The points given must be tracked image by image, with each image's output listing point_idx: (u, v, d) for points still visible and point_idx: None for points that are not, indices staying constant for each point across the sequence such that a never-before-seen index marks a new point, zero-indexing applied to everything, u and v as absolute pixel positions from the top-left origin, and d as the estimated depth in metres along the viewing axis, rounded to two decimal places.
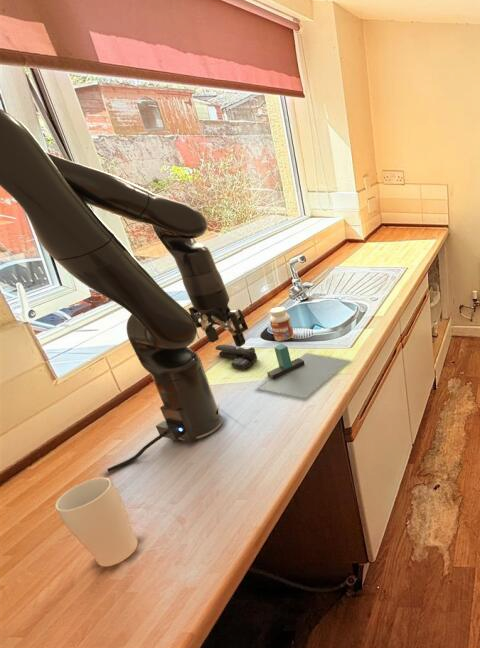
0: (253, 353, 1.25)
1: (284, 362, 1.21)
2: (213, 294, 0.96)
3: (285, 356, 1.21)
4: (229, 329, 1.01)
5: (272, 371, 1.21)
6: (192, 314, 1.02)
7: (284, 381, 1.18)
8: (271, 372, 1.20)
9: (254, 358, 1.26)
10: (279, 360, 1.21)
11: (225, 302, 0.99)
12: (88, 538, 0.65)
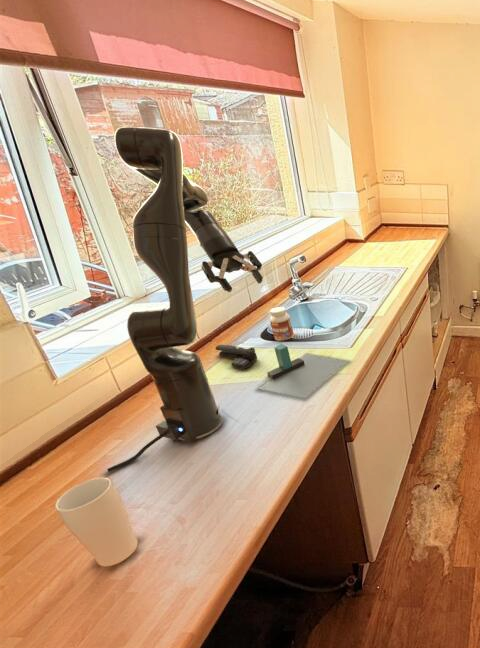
0: (253, 353, 1.25)
1: (284, 362, 1.21)
2: (230, 239, 1.21)
3: (285, 356, 1.21)
4: (250, 265, 1.21)
5: (272, 371, 1.21)
6: (207, 266, 1.14)
7: (284, 381, 1.18)
8: (271, 372, 1.20)
9: (254, 358, 1.26)
10: (279, 360, 1.21)
11: None
12: (88, 538, 0.65)
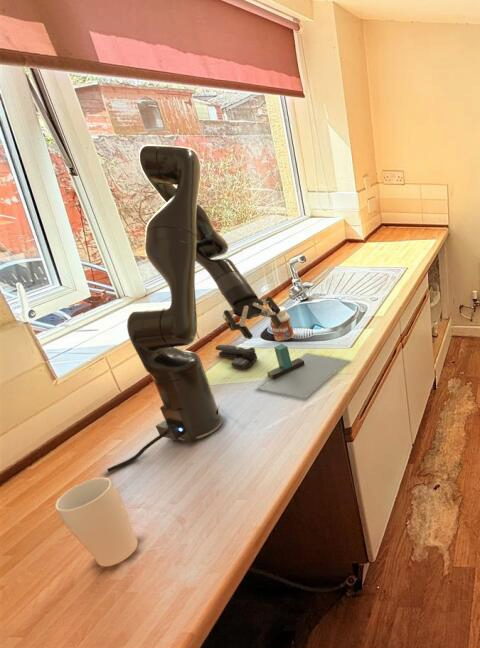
0: (253, 353, 1.25)
1: (284, 362, 1.21)
2: (250, 286, 1.25)
3: (285, 356, 1.21)
4: (269, 311, 1.25)
5: (272, 371, 1.21)
6: (228, 315, 1.17)
7: (284, 381, 1.18)
8: (271, 372, 1.20)
9: (254, 358, 1.26)
10: (279, 360, 1.21)
11: None
12: (88, 538, 0.65)
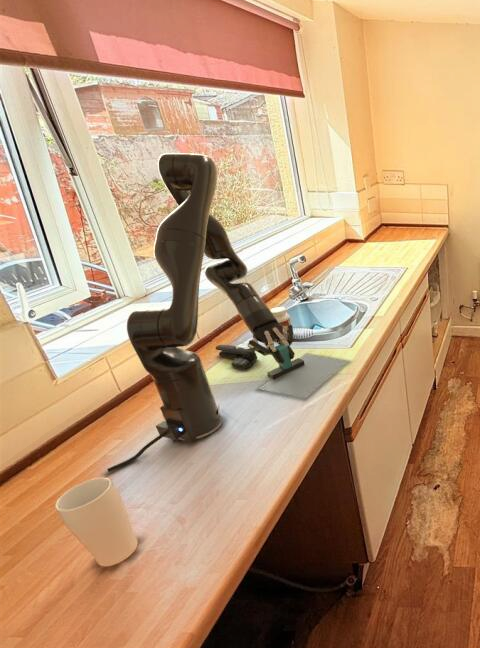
0: (253, 353, 1.25)
1: (284, 362, 1.21)
2: None
3: (285, 356, 1.21)
4: (284, 341, 1.22)
5: (273, 371, 1.21)
6: (255, 344, 1.17)
7: (284, 381, 1.18)
8: (271, 372, 1.20)
9: (254, 358, 1.26)
10: None
11: None
12: (88, 538, 0.65)
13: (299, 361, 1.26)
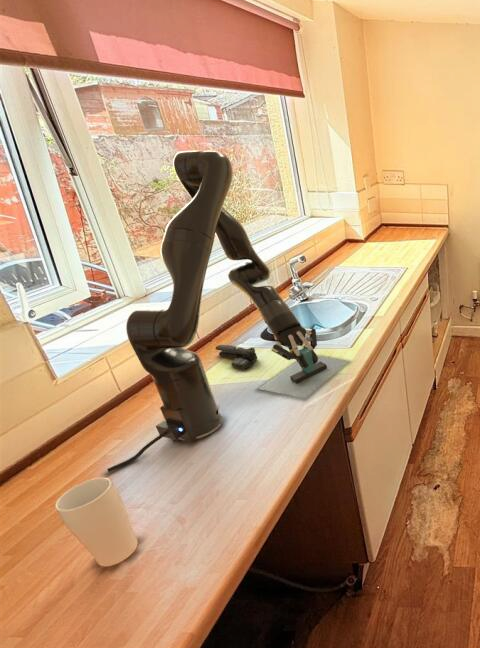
0: (253, 353, 1.25)
1: (308, 366, 1.19)
2: None
3: (308, 360, 1.19)
4: (308, 345, 1.20)
5: (296, 375, 1.19)
6: (279, 348, 1.15)
7: (284, 381, 1.18)
8: (294, 375, 1.19)
9: (254, 358, 1.26)
10: None
11: None
12: (88, 538, 0.65)
13: (322, 365, 1.24)
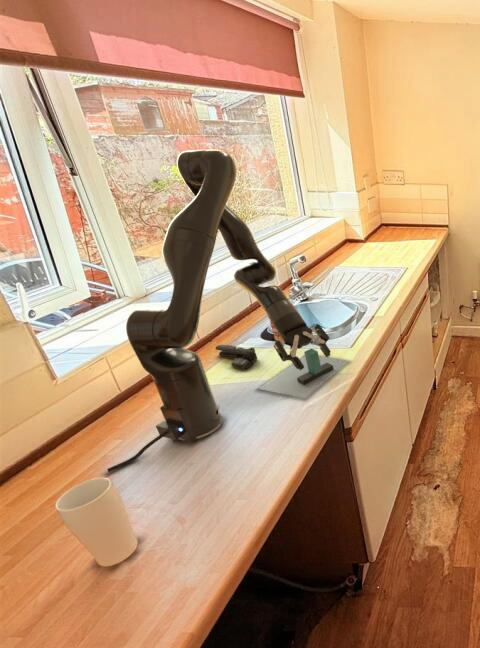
0: (253, 353, 1.25)
1: (314, 367, 1.19)
2: None
3: (315, 361, 1.18)
4: (319, 340, 1.21)
5: (302, 376, 1.18)
6: (280, 346, 1.13)
7: (284, 381, 1.18)
8: (301, 377, 1.18)
9: (254, 358, 1.26)
10: (309, 365, 1.19)
11: None
12: (88, 538, 0.65)
13: (328, 366, 1.24)
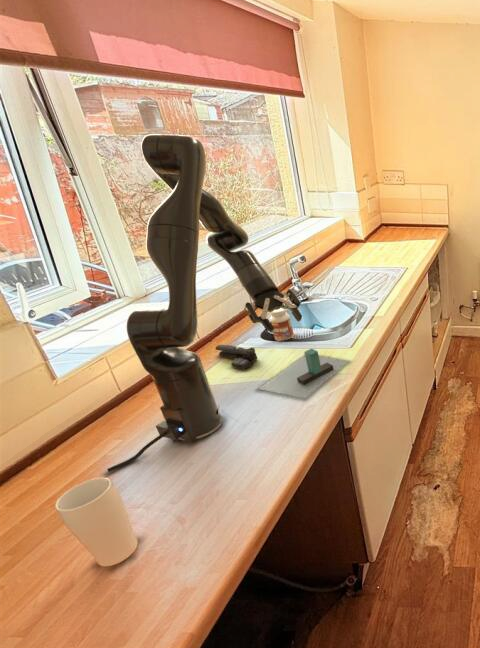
0: (253, 353, 1.25)
1: (314, 367, 1.19)
2: None
3: (315, 361, 1.18)
4: (290, 304, 1.23)
5: (302, 376, 1.18)
6: (250, 307, 1.16)
7: (284, 381, 1.18)
8: (301, 377, 1.18)
9: (254, 358, 1.26)
10: (309, 365, 1.19)
11: None
12: (88, 538, 0.65)
13: (328, 366, 1.24)
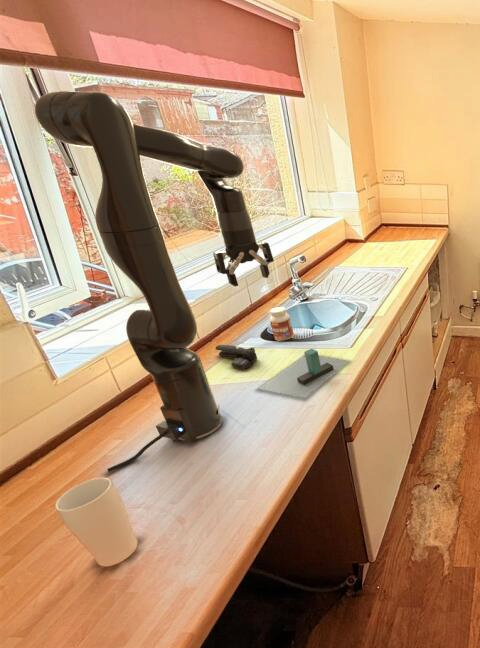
0: (253, 353, 1.25)
1: (314, 367, 1.19)
2: (252, 227, 1.13)
3: (315, 361, 1.18)
4: (262, 260, 1.17)
5: (302, 376, 1.18)
6: (221, 259, 1.08)
7: (284, 381, 1.18)
8: (301, 377, 1.18)
9: (254, 358, 1.26)
10: (309, 365, 1.19)
11: None
12: (88, 538, 0.65)
13: (328, 366, 1.24)
